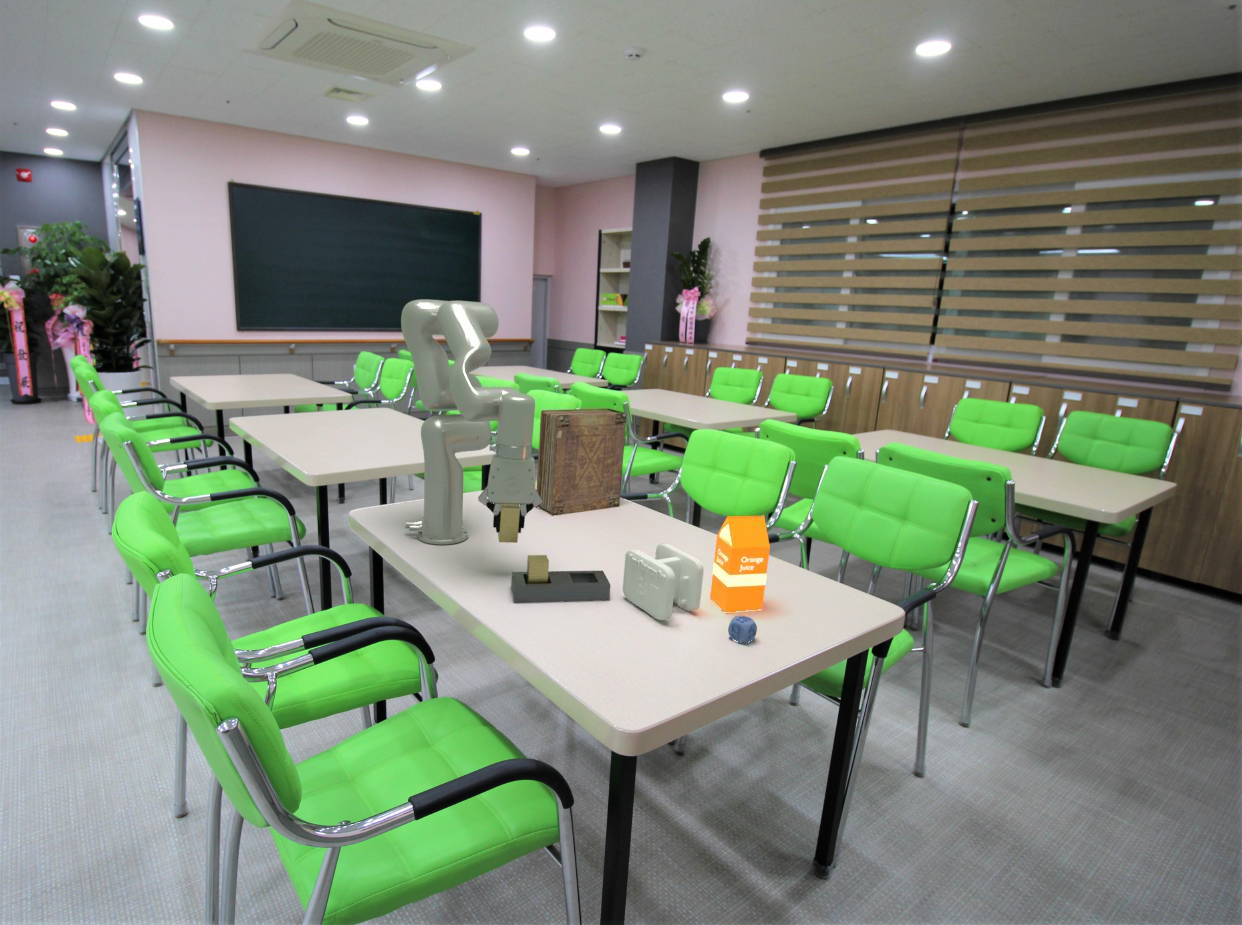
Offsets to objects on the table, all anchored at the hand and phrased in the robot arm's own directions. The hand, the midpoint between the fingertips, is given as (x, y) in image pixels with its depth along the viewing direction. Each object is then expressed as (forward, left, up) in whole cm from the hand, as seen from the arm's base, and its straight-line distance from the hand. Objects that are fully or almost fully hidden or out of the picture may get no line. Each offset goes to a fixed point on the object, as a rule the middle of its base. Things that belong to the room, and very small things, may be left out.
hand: (508, 529), depth 150 cm
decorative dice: (+43, -34, -11) cm, 56 cm away
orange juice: (+48, -19, -11) cm, 52 cm away
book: (+26, +54, -11) cm, 61 cm away
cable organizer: (+31, -19, -11) cm, 38 cm away
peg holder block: (+11, -11, -11) cm, 19 cm away
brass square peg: (0, 0, -2) cm, 2 cm away
